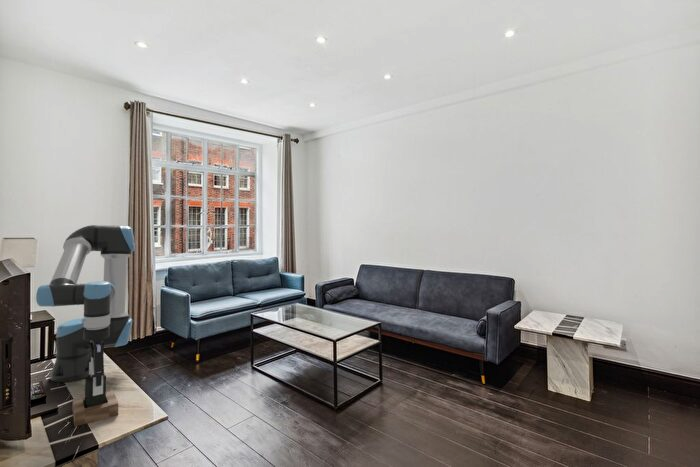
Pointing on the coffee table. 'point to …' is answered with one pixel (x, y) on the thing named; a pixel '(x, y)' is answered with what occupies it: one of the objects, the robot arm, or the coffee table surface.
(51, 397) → the coffee table surface
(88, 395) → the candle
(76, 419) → the block
